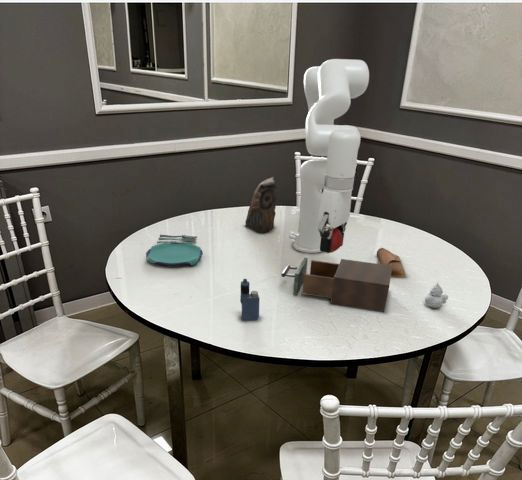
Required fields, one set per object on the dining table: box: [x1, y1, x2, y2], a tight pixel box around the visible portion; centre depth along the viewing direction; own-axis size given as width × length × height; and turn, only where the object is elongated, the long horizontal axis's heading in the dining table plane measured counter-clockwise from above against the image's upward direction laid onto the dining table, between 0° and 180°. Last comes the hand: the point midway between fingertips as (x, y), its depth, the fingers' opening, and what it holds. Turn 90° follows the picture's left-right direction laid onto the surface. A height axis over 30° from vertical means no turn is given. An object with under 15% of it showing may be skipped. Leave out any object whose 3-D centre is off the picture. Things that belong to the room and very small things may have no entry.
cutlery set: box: [145, 234, 204, 267], centre depth 171 cm, size 20×30×2 cm, turn 2°
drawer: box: [280, 256, 340, 299], centre depth 146 cm, size 20×14×7 cm
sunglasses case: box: [376, 247, 406, 278], centre depth 166 cm, size 18×7×7 cm
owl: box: [244, 176, 278, 235], centre depth 191 cm, size 13×13×20 cm
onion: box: [326, 228, 344, 254], centre depth 131 cm, size 6×6×8 cm
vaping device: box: [239, 278, 260, 322], centre depth 129 cm, size 3×5×12 cm, turn 95°
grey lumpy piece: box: [424, 282, 449, 309], centre depth 140 cm, size 5×7×8 cm
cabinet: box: [330, 258, 392, 313], centre depth 143 cm, size 16×15×9 cm
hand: (331, 247), depth 133 cm, fingers closed on onion, 6 cm apart
